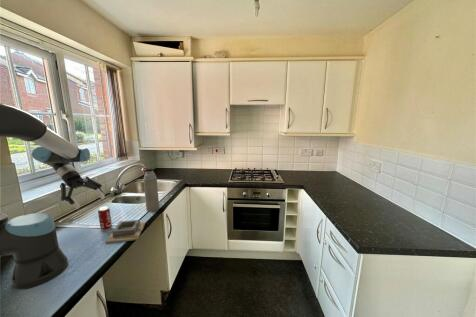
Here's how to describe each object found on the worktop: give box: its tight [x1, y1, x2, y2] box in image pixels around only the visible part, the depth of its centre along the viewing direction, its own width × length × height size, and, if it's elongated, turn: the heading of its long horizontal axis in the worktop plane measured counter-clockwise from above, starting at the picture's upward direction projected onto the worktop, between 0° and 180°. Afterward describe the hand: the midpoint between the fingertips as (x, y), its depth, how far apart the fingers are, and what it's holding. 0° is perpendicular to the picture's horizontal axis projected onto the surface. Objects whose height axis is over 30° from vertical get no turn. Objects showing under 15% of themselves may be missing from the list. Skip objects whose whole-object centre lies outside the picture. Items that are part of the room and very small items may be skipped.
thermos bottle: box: [143, 168, 160, 212], centre depth 125 cm, size 8×8×28 cm
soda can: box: [97, 206, 113, 232], centre depth 103 cm, size 5×5×12 cm
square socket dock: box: [105, 219, 146, 244], centre depth 100 cm, size 16×14×4 cm
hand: (91, 202), depth 105 cm, fingers open, 13 cm apart
